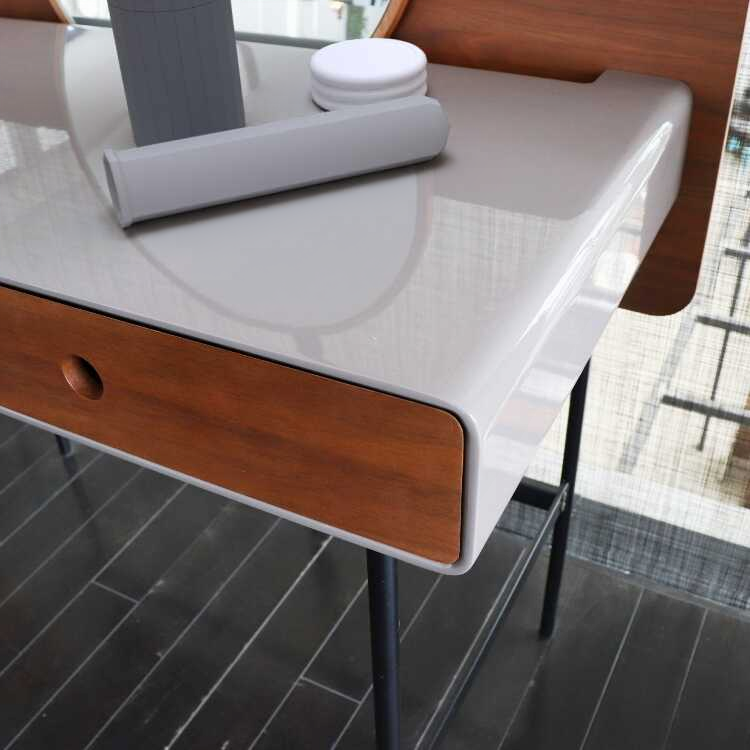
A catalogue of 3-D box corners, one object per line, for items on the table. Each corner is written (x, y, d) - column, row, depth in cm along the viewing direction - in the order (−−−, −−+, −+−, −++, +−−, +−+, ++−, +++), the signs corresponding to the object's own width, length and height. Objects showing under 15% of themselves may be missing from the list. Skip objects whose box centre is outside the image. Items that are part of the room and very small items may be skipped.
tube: (426, 87, 76) (98, 148, 69) (456, 86, 72) (108, 152, 64) (435, 157, 78) (117, 224, 71) (465, 161, 73) (127, 233, 66)
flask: (128, 160, 77) (90, -29, 69) (140, 115, 84) (107, -60, 76) (245, 151, 78) (221, -37, 69) (246, 108, 85) (225, -68, 77)
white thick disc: (441, 109, 83) (441, 68, 81) (323, 124, 81) (320, 82, 79) (410, 69, 91) (409, 30, 89) (302, 82, 89) (299, 43, 87)
